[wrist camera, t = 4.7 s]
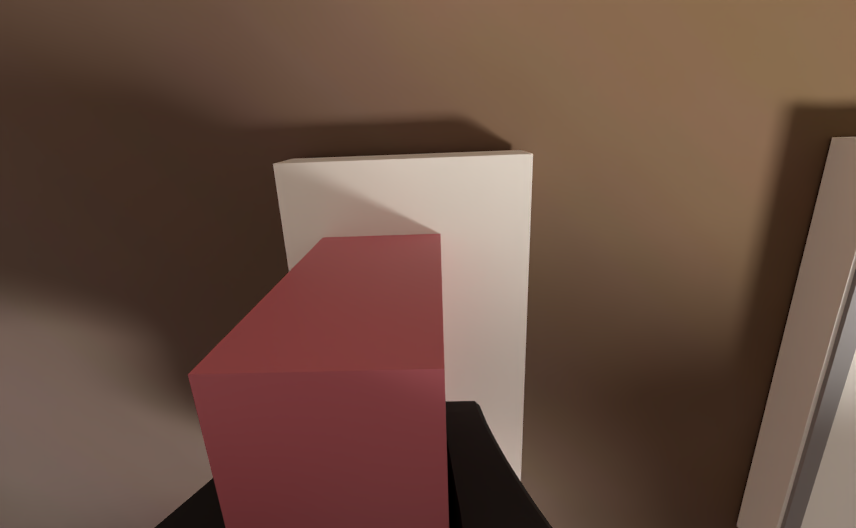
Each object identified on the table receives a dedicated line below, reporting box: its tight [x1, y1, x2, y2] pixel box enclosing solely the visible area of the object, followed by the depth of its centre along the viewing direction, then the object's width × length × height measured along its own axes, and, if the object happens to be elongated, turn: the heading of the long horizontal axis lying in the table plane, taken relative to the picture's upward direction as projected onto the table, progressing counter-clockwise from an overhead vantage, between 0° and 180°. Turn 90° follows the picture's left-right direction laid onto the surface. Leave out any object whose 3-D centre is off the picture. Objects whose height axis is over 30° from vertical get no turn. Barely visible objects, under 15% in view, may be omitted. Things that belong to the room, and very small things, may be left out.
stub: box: [188, 150, 533, 528], centre depth 8 cm, size 11×5×6 cm, turn 2°
